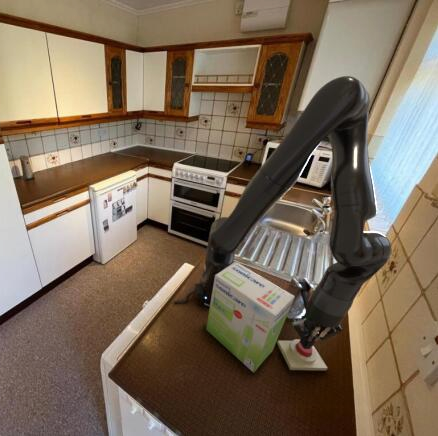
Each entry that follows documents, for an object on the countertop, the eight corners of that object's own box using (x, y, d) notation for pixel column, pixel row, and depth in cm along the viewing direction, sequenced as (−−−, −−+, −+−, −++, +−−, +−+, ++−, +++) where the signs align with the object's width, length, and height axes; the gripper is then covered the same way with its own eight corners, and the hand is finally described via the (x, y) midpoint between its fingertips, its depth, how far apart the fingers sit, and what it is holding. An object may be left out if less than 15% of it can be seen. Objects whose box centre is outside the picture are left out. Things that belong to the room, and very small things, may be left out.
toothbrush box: (203, 329, 78) (214, 273, 66) (223, 314, 84) (237, 259, 72) (252, 375, 66) (276, 316, 54) (271, 353, 71) (297, 295, 60)
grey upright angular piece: (310, 320, 82) (324, 294, 75) (287, 320, 82) (299, 293, 75) (294, 298, 90) (306, 272, 84) (273, 297, 90) (283, 272, 84)
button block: (289, 371, 67) (293, 363, 65) (275, 344, 74) (279, 336, 72) (324, 372, 67) (330, 364, 65) (308, 345, 74) (312, 337, 72)
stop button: (300, 356, 67) (302, 352, 66) (293, 344, 70) (295, 340, 69) (313, 356, 67) (315, 353, 66) (305, 344, 70) (307, 341, 69)
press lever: (317, 320, 76) (321, 319, 74) (301, 320, 76) (305, 319, 74) (305, 283, 82) (309, 281, 80) (290, 283, 82) (294, 281, 80)
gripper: (310, 314, 55) (287, 358, 64) (368, 316, 55) (337, 360, 64) (294, 290, 62) (275, 332, 70) (345, 292, 62) (320, 334, 70)
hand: (304, 345), depth 67 cm, fingers closed
